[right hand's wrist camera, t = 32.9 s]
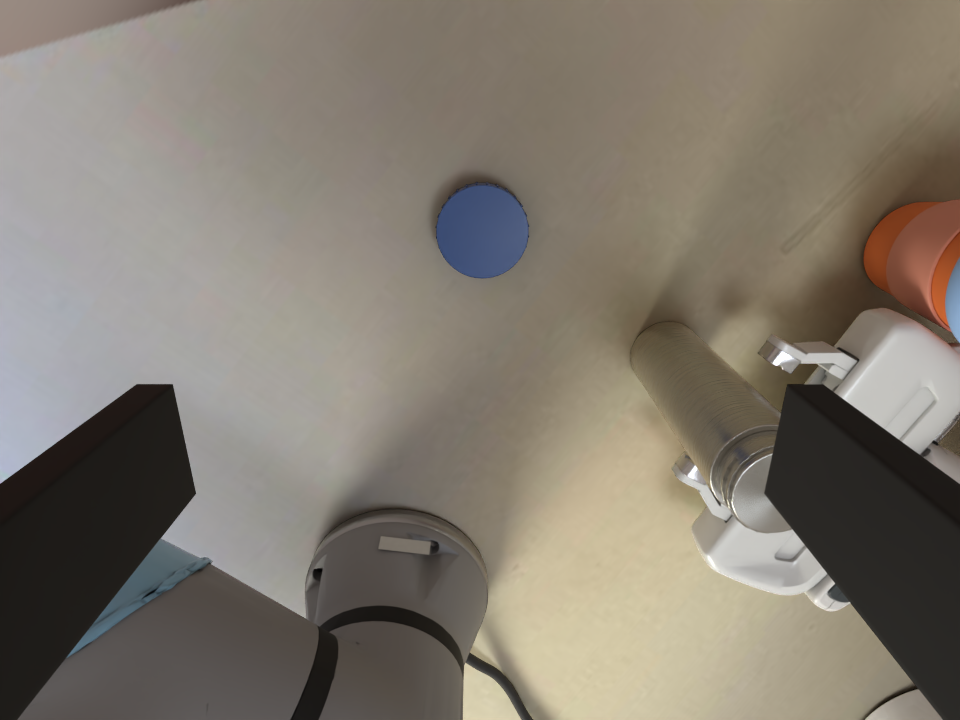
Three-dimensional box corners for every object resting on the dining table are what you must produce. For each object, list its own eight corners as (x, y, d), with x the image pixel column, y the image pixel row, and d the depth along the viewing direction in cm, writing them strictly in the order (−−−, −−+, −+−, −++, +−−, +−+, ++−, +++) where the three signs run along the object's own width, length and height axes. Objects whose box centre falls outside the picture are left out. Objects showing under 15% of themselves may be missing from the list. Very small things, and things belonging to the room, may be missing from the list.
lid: (423, 249, 39) (420, 255, 38) (460, 165, 37) (458, 167, 36) (503, 286, 40) (504, 294, 38) (542, 205, 38) (546, 209, 36)
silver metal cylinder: (640, 315, 41) (747, 435, 25) (708, 327, 41) (857, 453, 25) (622, 379, 43) (710, 530, 27) (687, 390, 43) (813, 546, 27)
